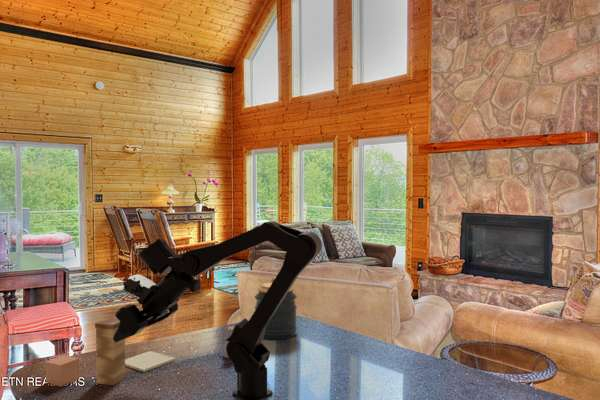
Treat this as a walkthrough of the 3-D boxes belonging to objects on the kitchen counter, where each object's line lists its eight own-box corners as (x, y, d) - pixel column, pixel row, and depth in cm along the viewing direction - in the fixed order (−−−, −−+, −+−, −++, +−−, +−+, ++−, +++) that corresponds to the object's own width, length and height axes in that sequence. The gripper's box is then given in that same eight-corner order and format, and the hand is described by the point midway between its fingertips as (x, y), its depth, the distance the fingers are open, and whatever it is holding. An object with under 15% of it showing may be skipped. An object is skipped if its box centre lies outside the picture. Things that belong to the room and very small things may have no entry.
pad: (175, 360, 129) (175, 358, 129) (143, 372, 121) (143, 369, 121) (150, 353, 135) (150, 350, 135) (118, 363, 127) (118, 361, 127)
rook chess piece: (236, 359, 130) (236, 329, 130) (220, 358, 131) (220, 328, 131) (241, 353, 134) (241, 324, 134) (226, 352, 135) (226, 323, 135)
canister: (279, 325, 162) (279, 272, 161) (305, 334, 152) (305, 277, 151) (246, 333, 153) (246, 276, 153) (271, 343, 143) (271, 283, 143)
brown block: (126, 377, 118) (125, 319, 117) (114, 385, 113) (113, 324, 113) (108, 375, 119) (107, 318, 119) (95, 383, 114) (94, 323, 114)
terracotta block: (79, 379, 117) (78, 358, 117) (61, 386, 113) (60, 365, 112) (64, 375, 119) (63, 355, 119) (45, 383, 115) (45, 362, 114)
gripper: (166, 258, 122) (127, 299, 125) (123, 270, 104) (78, 319, 107) (196, 291, 121) (155, 333, 123) (157, 310, 102) (110, 358, 105)
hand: (126, 334), depth 115 cm, fingers open, 9 cm apart
